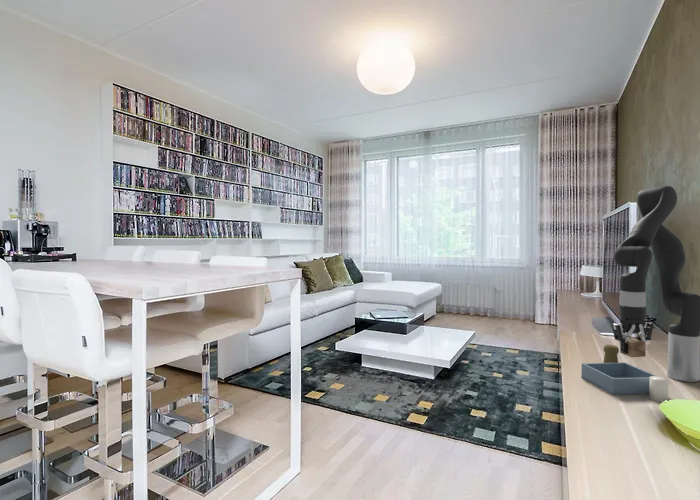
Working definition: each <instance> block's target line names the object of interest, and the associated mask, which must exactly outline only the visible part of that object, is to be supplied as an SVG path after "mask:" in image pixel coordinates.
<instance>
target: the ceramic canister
mask: <svg viewBox="0 0 700 500" xmlns="http://www.w3.org/2000/svg"><path fill="white" fill-rule="evenodd" d="M648 399H649V400H651V401H654V402H658V403H663V402H662V401H665V400H668V401H669V379H668V378H665V377H662V376H658V375H656V376H650V380H649V394H648Z"/></svg>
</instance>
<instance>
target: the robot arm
mask: <svg viewBox="0 0 700 500" xmlns="http://www.w3.org/2000/svg"><path fill="white" fill-rule="evenodd" d="M636 197H637V199H636V201H637V205H638V209H639V212H640V214H641V219H640V220H638V221H637V222H636V223H635V224H634V225H633V227H632V229H631V232H630V234H628V237H627V238H626V239H624V240H623V241H622V242H621V244H619V245H618V246H617V247H616V249H615V251H614V253H613V254H614V255H613V260H614V262H615V264H616V265H618V266H619V267H633V268H636V270H635V271H634V272H628V273H623V274H621V275H620V279H619V282H620V289H619V290H620V292H619V304H618V305H619V311H618V313H619V317H620V321H619V322H618V323H611V328H612V332H613V333H612V334H613V337H614V340H615V341H618V342H619V343H620V342H621V351H622V353H625V354H628V341H629V338H632V335H633V334H634V337H635V339H638V340H641V341H644V342H645V343H647V341H650V340H652V339H651V338H652V335H653V329H654V323H652V322H649V321H648V322H647V321H646V320H645V319H646V318H647V295H646V285H647V284H646V281H647V275H648V272H649V268H650V266H651V263H652V260H653V259H654V261H655V265H656V269H657V273H658V277H659V283H660V290H661V296H662V298H661V299H662V303H663V306H664V308H665V310H666V311H667V312H668V313H669V314H671V315H675V316H680V321H679V322H678V323H671V324H669V326H668V336H667V337H668V339H667V371H666V374H667V377H669V378H671V379H674V380H676V381H681V382H688V383H697V382H699V381H700V295H699V294H697V293H692V292H691V293H690V292H684V291H682V288H681V286H680V281H679V280H680V274H681V273H682V271H683V268H684V266H685V263H686V253H685V249H684V246H683V242H682V241H681V240H680V239H679V237H677V236H676V234H674V233H673V232H672V231H670V230H669V229H668V228H667V227H666V226H664V225H663V223H664V222H665V221H666V220H667V218H668V217H669V215H670V214H671V213H672V212H673V211H674V209H675V207H676V205H677V204H678V203H677V202H678V195H677V191H676V190H675V188H674V187H673V186H670V185H663V186H657V187H652V188H646V189H643V190H640V191H639V192H638V193H637V196H636ZM650 247H651V249H650ZM622 353H621V354H622Z"/></svg>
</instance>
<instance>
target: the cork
mask: <svg viewBox="0 0 700 500" xmlns="http://www.w3.org/2000/svg"><path fill="white" fill-rule="evenodd" d="M603 352H604V356H603V362H602V363H619V358H618V354H619V353H620V347H618V346H617V345H614V344H605V345H604V346H603Z"/></svg>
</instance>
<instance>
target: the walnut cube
mask: <svg viewBox="0 0 700 500" xmlns="http://www.w3.org/2000/svg"><path fill="white" fill-rule="evenodd" d="M619 344H620V345H619V346H620V347H619V353H620V354H622V355H624V356H628V357H630V358H641V357H642V358H643V357H646V342H644V341H641V340H638V339H636V337H635V338H634V337H630V338H629V341H628V354H625V353H622V351H621V342H620V341H619Z"/></svg>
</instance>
